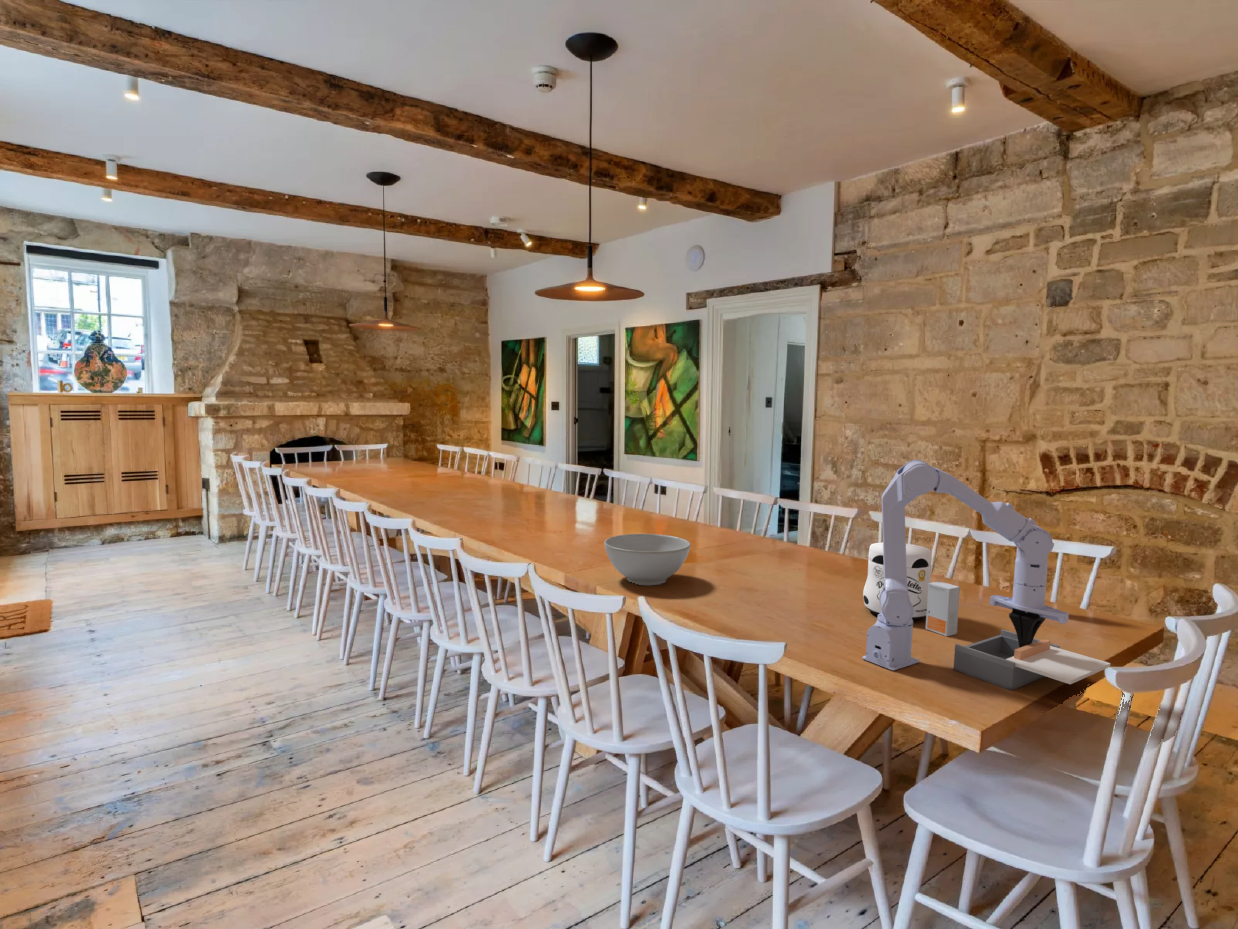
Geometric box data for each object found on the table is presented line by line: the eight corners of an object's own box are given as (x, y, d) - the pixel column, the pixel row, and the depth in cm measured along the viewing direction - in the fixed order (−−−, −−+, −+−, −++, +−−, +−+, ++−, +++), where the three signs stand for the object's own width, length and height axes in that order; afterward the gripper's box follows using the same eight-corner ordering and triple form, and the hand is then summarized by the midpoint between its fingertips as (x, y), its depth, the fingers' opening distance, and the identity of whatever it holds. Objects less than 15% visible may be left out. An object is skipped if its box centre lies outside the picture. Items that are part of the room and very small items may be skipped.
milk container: (889, 627, 171) (893, 556, 170) (849, 606, 188) (852, 542, 186) (947, 622, 176) (951, 553, 174) (902, 602, 193) (906, 540, 191)
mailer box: (1011, 690, 134) (1013, 663, 134) (953, 669, 144) (955, 644, 144) (1057, 671, 144) (1059, 645, 144) (1000, 653, 154) (1002, 629, 154)
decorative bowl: (689, 571, 224) (690, 535, 223) (689, 594, 197) (690, 553, 196) (608, 568, 226) (609, 532, 225) (598, 590, 200) (598, 549, 199)
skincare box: (924, 629, 170) (927, 582, 169) (935, 626, 172) (938, 580, 171) (946, 637, 165) (950, 588, 164) (957, 634, 167) (960, 586, 166)
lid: (1070, 684, 126) (1071, 671, 126) (1004, 662, 136) (1005, 650, 136) (1110, 666, 135) (1111, 654, 135) (1045, 647, 145) (1046, 636, 145)
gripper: (1078, 589, 136) (1072, 655, 137) (1004, 573, 148) (999, 633, 149) (1060, 594, 132) (1055, 661, 133) (986, 577, 144) (982, 639, 145)
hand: (1024, 647), depth 141 cm, fingers closed
